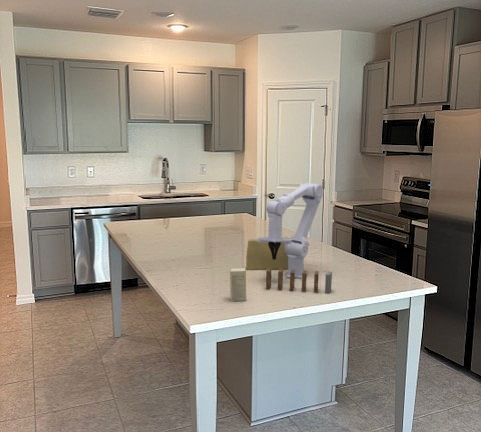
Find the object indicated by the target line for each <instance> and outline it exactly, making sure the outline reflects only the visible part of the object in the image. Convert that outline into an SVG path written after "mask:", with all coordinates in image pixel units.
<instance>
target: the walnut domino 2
mask: <svg viewBox="0 0 481 432" xmlns="http://www.w3.org/2000/svg"><path fill="white" fill-rule="evenodd" d="M283 284H284V269H278V272H277V291H280V292H282V290H283V288H284V287H283V286H284V285H283Z"/></svg>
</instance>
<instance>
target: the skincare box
mask: <svg viewBox="0 0 481 432" xmlns="http://www.w3.org/2000/svg"><path fill="white" fill-rule="evenodd" d="M229 274H230V275H229V277H230V279H229V280H230V283H229V285H230V286H229V287H230V301H231V302H237V301H238V302H243V301H247V269H246V267H241V268H230V269H229Z"/></svg>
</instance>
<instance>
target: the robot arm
mask: <svg viewBox="0 0 481 432" xmlns="http://www.w3.org/2000/svg"><path fill="white" fill-rule="evenodd" d="M323 195H324V189H323V186H322V184H321V183H312V182H311V183H309V182H302V183H300V184H299V186H298V187H297V188H296V189H295V190H293V191H292V192H291V193H287V192H286V193H283V195H282V196H280V197H277V198H276V199H275V200H270V201H269V202H268V203H267V204H266V205H267V206H266V208H265V209H266V212H267V218H268V237H267V236H266V237H263V236H261V237H260V236H258V238H257V239H258V242H266V243H268V246H269V248H270V250H271V253H272V259H273V260H276V255H277V252H278V249H279V247H280V245H281V243H284V244H286V245H285V253H286V254H287V256H288V269H287V273H286V276H285V277H286V278H290V271H291V269H292V270H295V279H297V278H298V279H302V272H303V270H305V268H304V266H305V265H304V264H305V258H306V257H307V255H308V253H309V246H310V243H309V241H308V240H307V238H308V234H309V232H310V229H311V227H312V224H313V221H314V219H315V216H316V213H317V211H318V207H319V204H320V203H321V201H322V198H323ZM300 198H302V200H303V202H304V203H305V204H306V205H305V208H304V210H303V213H302V216H301V218H300V221H299V223H298V227H297V229H296V231H295V234H294V235H292V236H290V237H288V238H289V239H286V238H282V237H283V235H282V234H283V215H284V214H285V213H286V211H287V209H289V208H290V207H292V206H293V205H294V204H295V201H296V200H298V199H300ZM274 249H275V253H274Z"/></svg>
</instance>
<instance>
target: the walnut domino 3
mask: <svg viewBox="0 0 481 432" xmlns="http://www.w3.org/2000/svg"><path fill="white" fill-rule="evenodd" d="M295 279H296V278H295V270H292V269H291V271H290V277H289V292H294V291H295Z"/></svg>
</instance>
